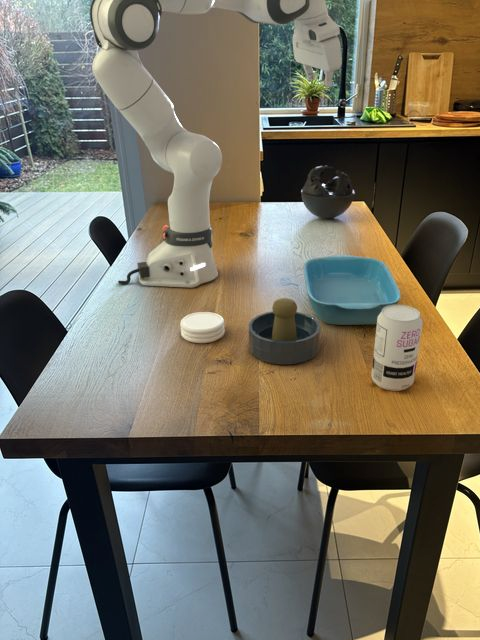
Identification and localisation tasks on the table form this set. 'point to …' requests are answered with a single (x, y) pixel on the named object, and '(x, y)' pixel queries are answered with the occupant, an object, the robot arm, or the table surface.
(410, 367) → the supplement can
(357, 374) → the table surface
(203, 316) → the coaster
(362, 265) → the casserole dish
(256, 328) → the bowl
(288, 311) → the olive pawn
